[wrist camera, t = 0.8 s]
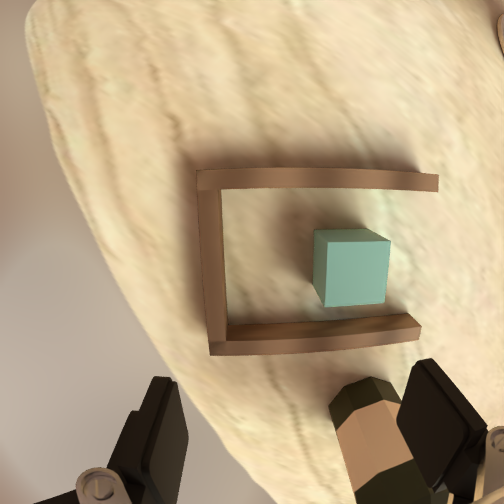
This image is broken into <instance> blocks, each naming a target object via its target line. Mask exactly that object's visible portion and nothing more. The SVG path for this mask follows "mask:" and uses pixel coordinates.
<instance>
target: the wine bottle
mask: <svg viewBox="0 0 504 504" xmlns="http://www.w3.org/2000/svg"><path fill="white" fill-rule="evenodd" d="M401 402H402V401H401V399H400V398H399V396H398V394H397V393H396V391H395V389H394V387H393V386H392V384H391V383H389V382H386V381H383V380H380V379H377V378H374V377H369V378H366V379H363V380H361V381H358V382H355V383H352V384H350V385H347V386H344V387H343V389H342V390H341V391H340V392H339V394H338V395H337V396H336V397H335V399H334V400H333V401H332V402H331V403H330V405H329V410H330V413H331V417H332V421H333V424H334V427H335V431H336V434H337V437H338V441H339V444H340V448H341V451H342V454H343V458H344V461H345V465H346V468H347V472H348V475H349V479H350V482H351V486H352V489H353V493H354V496H355V500H356V503H357V504H447V502H448V498H449V491H448V489H445V490H442V491H440V492H437V493H435V494H434V492H433V490H432V488H429V487H428V486H427V485H426V483H425V481H424V479H423V477H422V474H421V472H420V470H419V468H418V466H417V464H416V462H415V460H414V458H413V456H412V454H411V452H410V450H409V448H408V446H407V444H406V442H405V440H404V438H403V436H402V434H401V432H400V430H399V428H398V426H397V423H396V417H397V414H398V411H399V408H400V405H401Z"/></svg>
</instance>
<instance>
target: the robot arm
mask: <svg viewBox="0 0 504 504" xmlns="http://www.w3.org/2000/svg"><path fill="white" fill-rule="evenodd" d="M497 29H498V36H499V40H500V44H501V47H502V50H503V53H504V14H502V15H501V16H500V17H499V19H498V25H497ZM396 423H397V426H398V428H399V430H400V432H401V434H402V436H403V438H404V440H405V442H406V444H407V446H408V448H409V450H410V452H411V454H412V456H413V458H414V460H415V462H416V464H417V466H418V468H419V470H420V472H421V474H422V477H423V479H424V481H425V483H426V485H427V486H428V487H429V488H432V490H433V492H434V494H435V493H437V492H440V491H442V490H445V489H448V491H449V498H448V502H447V504H504V426H497V427H494V428H492V429H491V430H490V431H488V430H487V429H486V428H487V426H488V425H487V424H486V423H485V422H484V420H483V419H482V418H481V416H480V415H479V414H478V413H477V411H476V410H475V409H474V408H473V406H472V405H471V404H470V403H469V401H468V400H467V399H466V398H465V396H464V395H463V394H462V393H461V392H460V390H459V389H458V388H457V387H456V385H455V384H454V383H453V382H452V381H451V379H450V378H449V377H448V376H447V375H446V374H445V372H444V371H443V370H442V369H441V368H440V366H439V365H438V364H437V363H436V362H435V361H434V360H433V359H432V358H429V359H424V360H419V361H417V362H416V364H415V365H414V366H413V367H412V369H411V372H410V376H409V379H408V382H407V386H406V389H405V392H404V396H403V399H402V402H401V405H400V408H399V411H398V414H397V417H396ZM187 446H188V430H187V426H186V422H185V417H184V413H183V408H182V404H181V399H180V395H179V390H178V385H177V382H175V381H172V379H171V378H170V377H159V376H154V377H153V379H152V381H151V383H150V385H149V388H148V390H147V393H146V395H145V397H144V400H143V402H142V405H141V407H140V409H139V411H131V412H130V414H129V416H128V418H127V420H126V423H125V425H124V427H123V430H122V432H121V434H120V437H119V439H118V441H117V444H116V446H115V448H114V451H113V453H112V455H111V458H110V460H109V463H108V465H107V468H101V467H98V468H91V469H88V470H86V471H85V472H83V473H82V474H81V475H80V476H79V477H78V479H77V482H76V489H75V490H73V491H70V492H67V493H64V494H62V495H59V496H56V497H53V498H50V499H47V500H44V501H41V502H37V503H34V504H176V503H177V498H178V492H179V487H180V481H181V477H182V471H183V466H184V461H185V456H186V451H187Z"/></svg>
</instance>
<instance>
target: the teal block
mask: <svg viewBox="0 0 504 504" xmlns="http://www.w3.org/2000/svg"><path fill="white" fill-rule="evenodd" d="M390 244H391V241H389V240H388V239H386V238H384V237H382V236H380V235H378V234H377V233H375V232H373V231H371V230H369V229H319V230H314V253H313V284H312V285H313V286H314V288H315V290H316V292H317V294H318V296H319V298H320V300H321V302H322V303H323V305H324V307H338V306H353V305H366V304H378V303H384V301H385V294H386V286H387V277H388V267H389V257H390Z"/></svg>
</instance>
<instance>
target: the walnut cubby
mask: <svg viewBox="0 0 504 504" xmlns="http://www.w3.org/2000/svg"><path fill="white" fill-rule="evenodd" d="M196 176H197V199H198V218H199V235H200V250H201V264H202V277H203V290H204V301H205V312H206V323H207V333H208V342H209V352H210V356H239V355H274V354H294V353H310V352H323V351H335V350H345V349H355V348H364V347H372V346H380V345H388V344H395V343H402V342H409V341H415V340H419V336H420V332H421V327H422V326H421V325H420V324H419V323H418V322H417V321H416V320H415V319H414V318H413V317H412V316H411V315H410V314H409V313H407V314H398V315H389V316H379V317H368V318H357V319H345V320H331V321H316V322H298V323H277V324H244V325H228V316H227V300H226V283H225V265H224V245H223V224H222V200H221V189H247V188H364V189H392V190H412V191H428V192H438V178H439V175H437V174H427V173H416V172H403V171H389V170H372V169H350V168H307V167H278V168H234V169H212V170H196Z"/></svg>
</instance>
